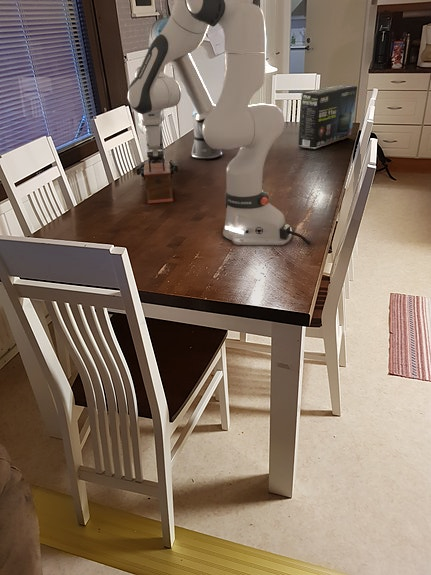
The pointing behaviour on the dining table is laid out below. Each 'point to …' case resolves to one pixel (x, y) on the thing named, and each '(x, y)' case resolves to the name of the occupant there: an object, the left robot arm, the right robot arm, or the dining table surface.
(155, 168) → the lid
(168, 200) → the chest
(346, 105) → the router box
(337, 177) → the dining table surface
